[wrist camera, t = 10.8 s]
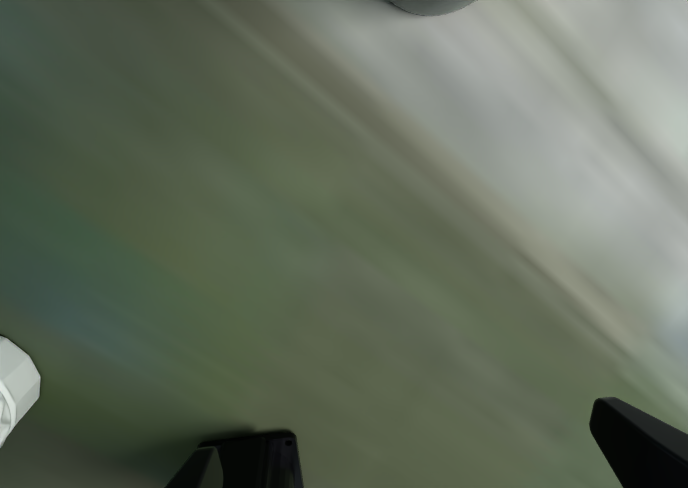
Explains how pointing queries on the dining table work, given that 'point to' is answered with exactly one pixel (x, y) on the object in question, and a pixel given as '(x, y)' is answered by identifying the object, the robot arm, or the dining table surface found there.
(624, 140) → the dining table surface
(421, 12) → the supplement bottle
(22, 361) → the white cup
